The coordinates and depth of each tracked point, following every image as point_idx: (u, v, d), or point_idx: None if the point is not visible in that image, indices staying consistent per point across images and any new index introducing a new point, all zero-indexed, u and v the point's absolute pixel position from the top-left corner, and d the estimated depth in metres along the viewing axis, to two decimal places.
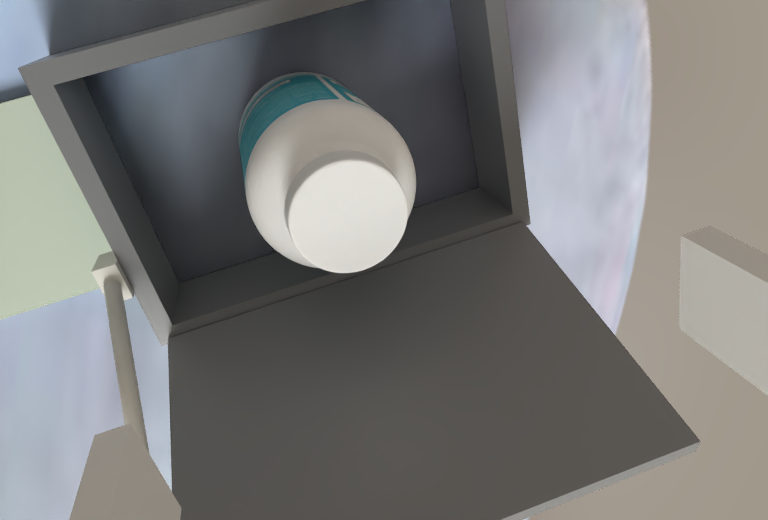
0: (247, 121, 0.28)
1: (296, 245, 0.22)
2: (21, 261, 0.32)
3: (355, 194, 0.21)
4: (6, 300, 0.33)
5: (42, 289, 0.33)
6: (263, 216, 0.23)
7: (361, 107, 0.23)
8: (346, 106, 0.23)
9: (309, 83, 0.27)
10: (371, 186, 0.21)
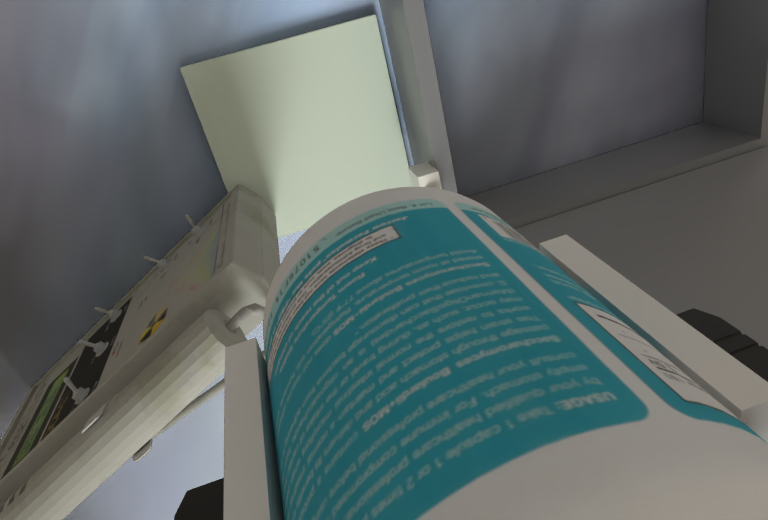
0: (292, 345, 0.11)
1: None
2: (318, 177, 0.35)
3: None
4: (299, 215, 0.36)
5: (330, 206, 0.36)
6: None
7: (761, 470, 0.06)
8: (727, 491, 0.06)
9: (463, 260, 0.10)
10: None
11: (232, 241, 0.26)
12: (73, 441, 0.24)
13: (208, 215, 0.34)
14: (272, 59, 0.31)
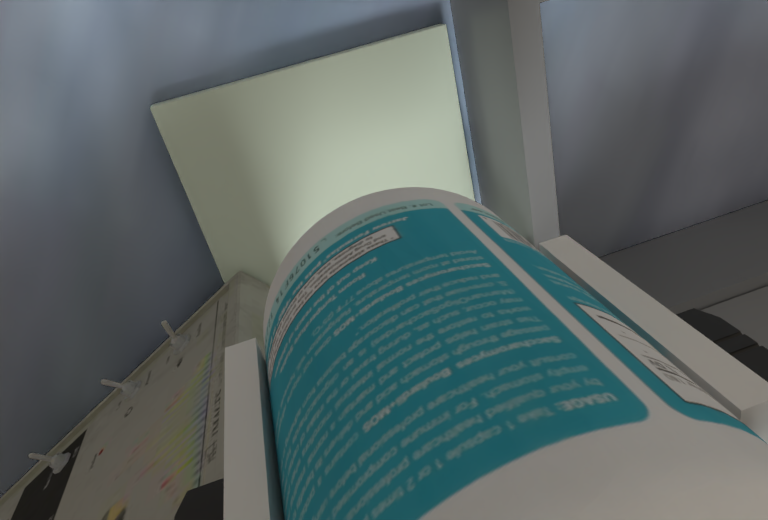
0: (292, 345, 0.11)
1: None
2: None
3: None
4: None
5: None
6: None
7: (761, 471, 0.06)
8: (727, 492, 0.06)
9: (463, 261, 0.10)
10: None
11: None
12: None
13: (196, 315, 0.23)
14: (292, 92, 0.21)
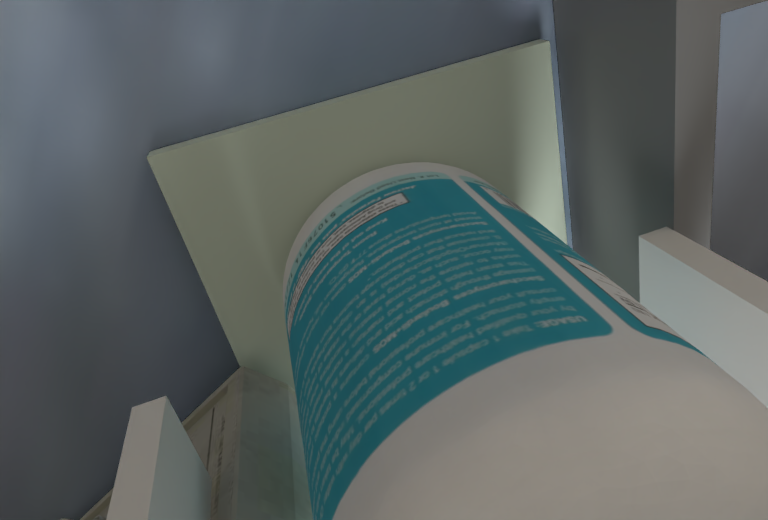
0: (310, 295, 0.12)
1: None
2: None
3: None
4: None
5: None
6: None
7: (702, 374, 0.07)
8: (669, 385, 0.07)
9: (463, 220, 0.11)
10: None
11: None
12: None
13: (185, 426, 0.17)
14: (340, 133, 0.15)
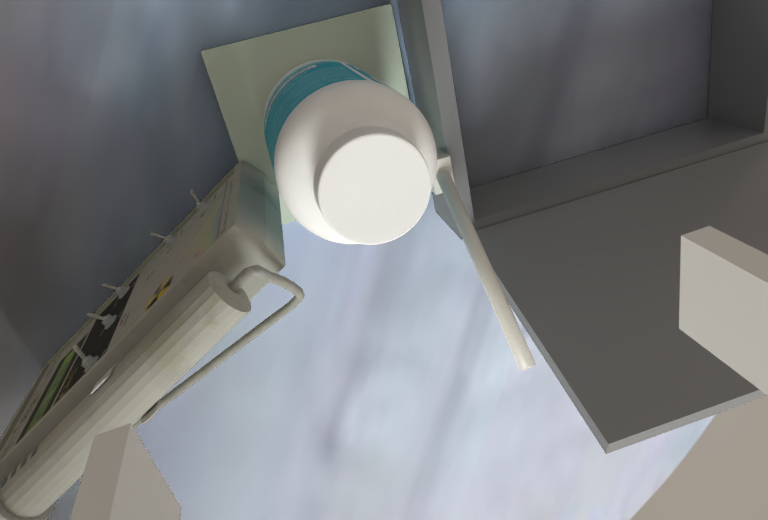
0: (274, 103, 0.29)
1: (324, 215, 0.23)
2: None
3: (381, 168, 0.22)
4: None
5: None
6: (291, 190, 0.24)
7: (388, 88, 0.24)
8: (374, 86, 0.24)
9: (335, 67, 0.29)
10: (398, 161, 0.22)
11: (234, 208, 0.27)
12: (82, 403, 0.25)
13: (212, 191, 0.34)
14: (290, 45, 0.32)
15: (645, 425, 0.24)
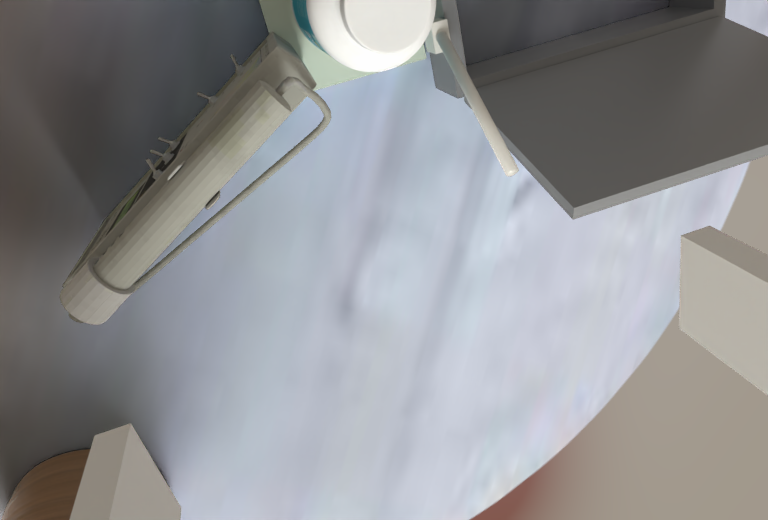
0: None
1: (349, 24, 0.29)
2: None
3: None
4: (331, 71, 0.43)
5: None
6: (321, 15, 0.31)
7: None
8: None
9: None
10: None
11: (274, 43, 0.33)
12: (160, 190, 0.31)
13: (248, 60, 0.41)
14: None
15: (603, 195, 0.31)
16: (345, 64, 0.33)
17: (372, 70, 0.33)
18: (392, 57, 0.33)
